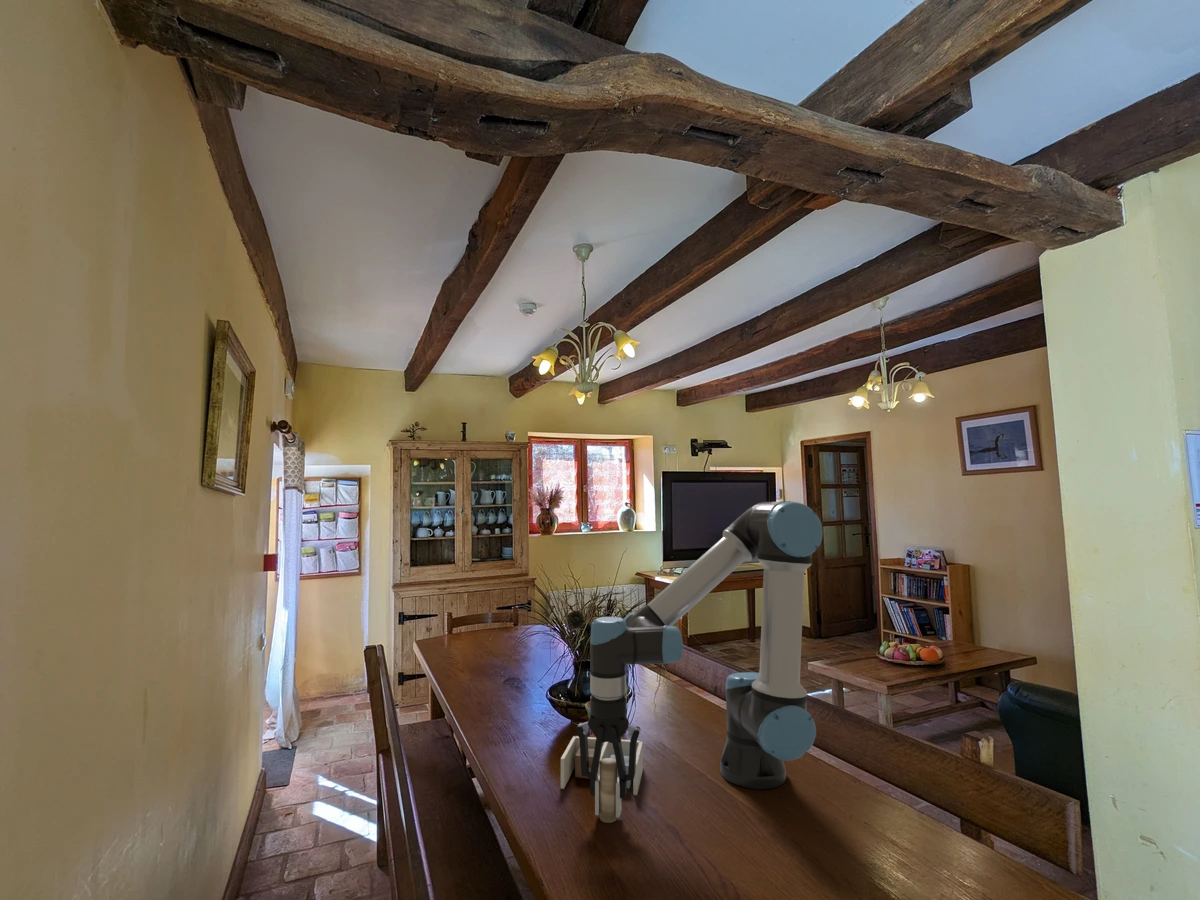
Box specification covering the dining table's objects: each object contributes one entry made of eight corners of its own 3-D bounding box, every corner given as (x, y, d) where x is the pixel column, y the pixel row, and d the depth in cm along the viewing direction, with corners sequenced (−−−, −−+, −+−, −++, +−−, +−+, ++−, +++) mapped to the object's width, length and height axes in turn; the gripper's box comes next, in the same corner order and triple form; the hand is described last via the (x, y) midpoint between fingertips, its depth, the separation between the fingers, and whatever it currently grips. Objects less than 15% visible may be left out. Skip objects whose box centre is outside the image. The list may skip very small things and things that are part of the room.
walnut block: (579, 767, 142) (579, 746, 142) (600, 769, 141) (600, 748, 141) (575, 777, 137) (575, 755, 137) (596, 779, 136) (596, 757, 136)
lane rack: (573, 763, 144) (573, 736, 145) (643, 768, 141) (642, 740, 142) (560, 788, 131) (560, 758, 132) (637, 795, 128) (636, 764, 129)
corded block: (611, 776, 137) (611, 728, 138) (632, 778, 136) (632, 729, 137) (594, 821, 118) (594, 764, 119) (619, 824, 117) (618, 766, 118)
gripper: (649, 691, 123) (650, 807, 121) (573, 686, 126) (573, 799, 124) (646, 703, 116) (646, 826, 114) (565, 697, 119) (564, 818, 117)
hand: (608, 812), depth 119 cm, fingers closed on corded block, 4 cm apart
